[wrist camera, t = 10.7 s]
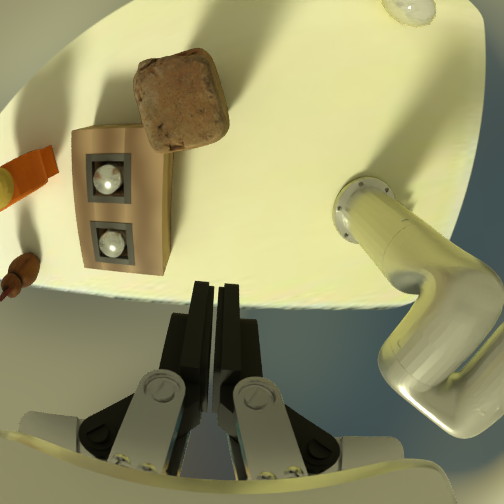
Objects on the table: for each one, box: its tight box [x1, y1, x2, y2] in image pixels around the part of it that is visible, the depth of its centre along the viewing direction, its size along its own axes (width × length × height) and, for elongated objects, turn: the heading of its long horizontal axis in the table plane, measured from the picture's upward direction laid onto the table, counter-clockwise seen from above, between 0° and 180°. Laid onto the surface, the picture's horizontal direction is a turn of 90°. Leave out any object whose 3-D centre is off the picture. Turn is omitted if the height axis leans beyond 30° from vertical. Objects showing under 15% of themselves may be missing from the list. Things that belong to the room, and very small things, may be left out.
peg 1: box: [93, 161, 124, 194], centre depth 35 cm, size 4×4×7 cm
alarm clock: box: [0, 145, 59, 212], centre depth 27 cm, size 13×6×20 cm, turn 99°
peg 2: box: [99, 229, 127, 257], centre depth 39 cm, size 4×4×7 cm
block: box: [133, 48, 229, 154], centre depth 26 cm, size 11×8×20 cm
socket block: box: [71, 124, 174, 276], centre depth 37 cm, size 14×22×7 cm, turn 172°
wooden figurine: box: [0, 253, 40, 301], centre depth 38 cm, size 7×6×15 cm
